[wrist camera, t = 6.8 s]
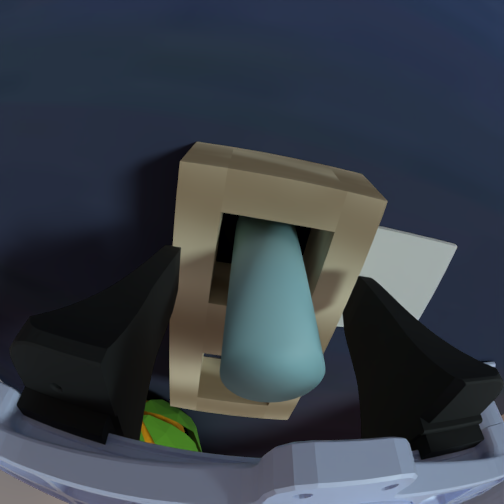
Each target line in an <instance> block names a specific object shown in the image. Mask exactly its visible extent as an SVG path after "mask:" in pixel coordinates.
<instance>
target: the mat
mask: <svg viewBox="0 0 504 504" xmlns="http://www.w3.org/2000/svg"><path fill="white" fill-rule="evenodd" d="M456 248H457V246H456V244H453V243H449V242H445V241H441V240H437V239H433V238H429V237H425V236H421V235H416V234H412V233H408V232H403V231H399V230H395V229H390V228H386V227H381V226H378V229H377V232H376V234H375V237H374V240H373V242H372V245H371V247H370V250H369V252H368V255H367V257H366V260H365V262H364V265H363V267H362V270H361V272H360V274H359V276H364V277H370V278H373V279H374V280H375V281H376V282H378V283H379V284H380V285H381V286H382V287H383V288H384V289H385V290H386V291H387V292H388V293H389V294H390V295H391V296H392V297H393V298H395V299H396V300H397V301H398V302H399V303H400V304H401V305H402V306H403V307H404V308H405V309H406V310H407V311H408V312H409V313H410V314H411V315H412V316H414V317H415V318H416V319H417V320H419V318H420V316H421V315H422V313H423V311H424V309H425V308H426V306H427V304H428V302H429V301H430V299H431V297H432V295H433V294H434V292H435V290H436V288H437V286H438V284H439V282H440V280H441V279H442V277H443V275H444V273H445V271H446V269H447V267H448V265H449V263H450V261H451V259H452V257H453V255H454V253H455V250H456ZM337 326H340V327H344V324H343V314H342V315H341V318H340V320H339V322H338V324H337Z"/></svg>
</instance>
